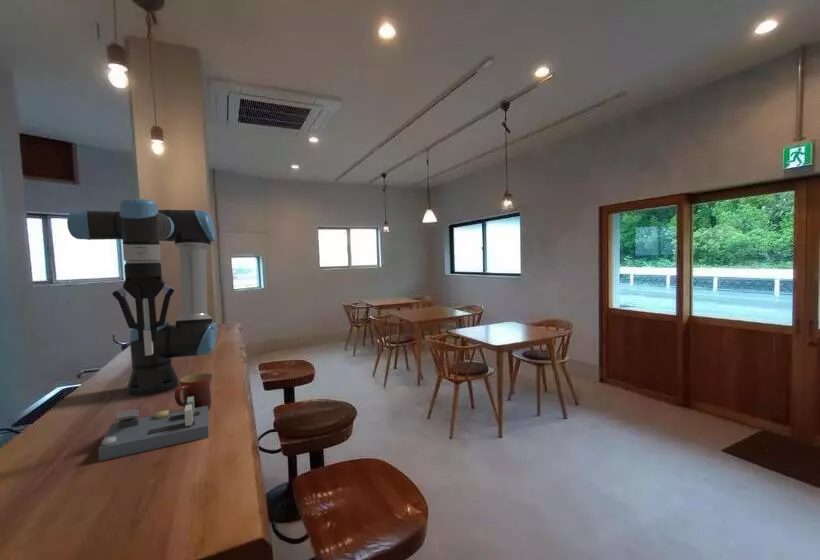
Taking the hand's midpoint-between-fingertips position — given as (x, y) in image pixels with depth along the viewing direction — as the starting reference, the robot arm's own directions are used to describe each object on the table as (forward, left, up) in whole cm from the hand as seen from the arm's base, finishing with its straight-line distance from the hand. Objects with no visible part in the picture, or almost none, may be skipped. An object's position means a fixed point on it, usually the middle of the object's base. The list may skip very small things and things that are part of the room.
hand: (149, 353), depth 95 cm
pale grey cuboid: (+4, +8, -18) cm, 20 cm away
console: (0, +1, -22) cm, 22 cm away
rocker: (-3, -6, -16) cm, 17 cm away
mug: (-12, +9, -22) cm, 26 cm away
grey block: (-2, +8, -18) cm, 20 cm away
